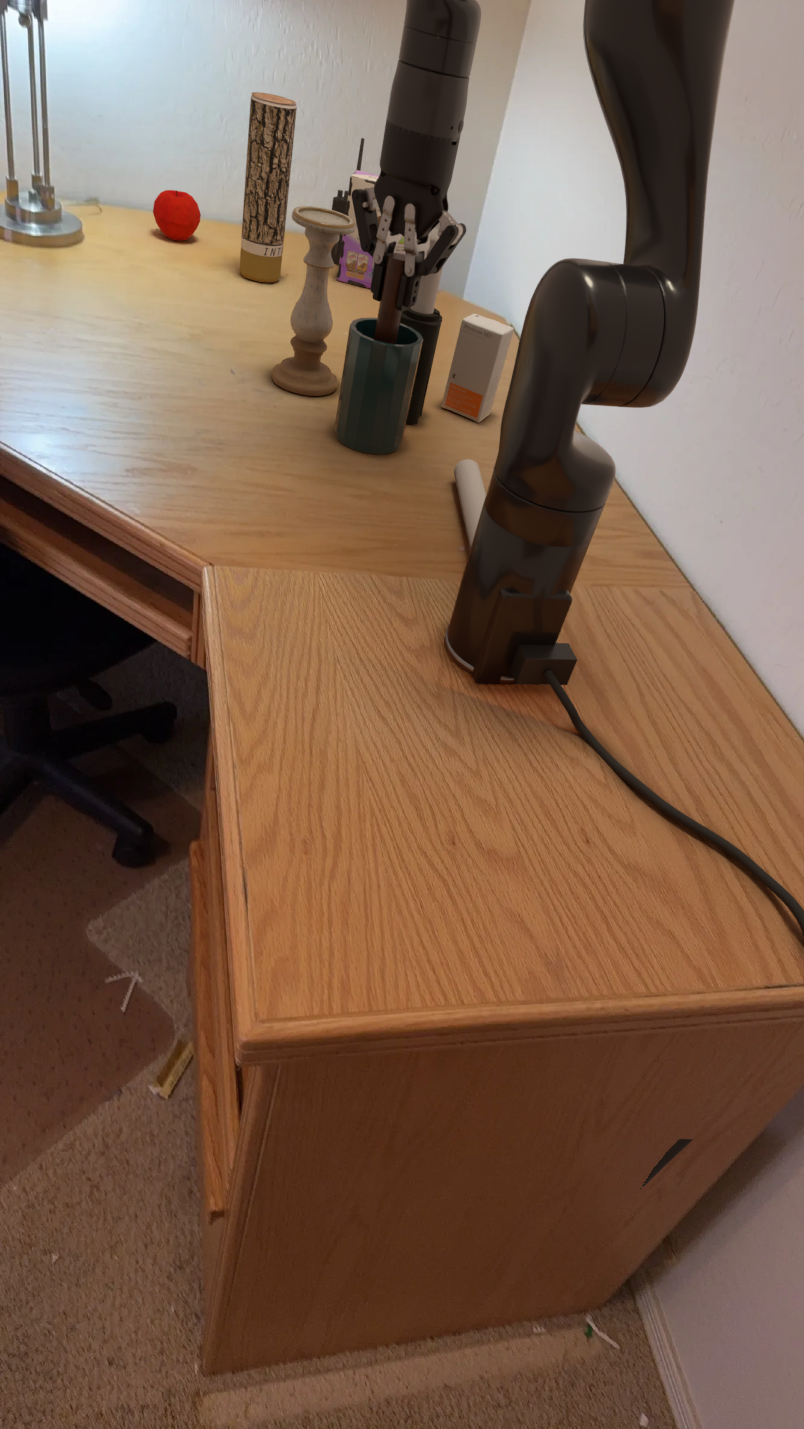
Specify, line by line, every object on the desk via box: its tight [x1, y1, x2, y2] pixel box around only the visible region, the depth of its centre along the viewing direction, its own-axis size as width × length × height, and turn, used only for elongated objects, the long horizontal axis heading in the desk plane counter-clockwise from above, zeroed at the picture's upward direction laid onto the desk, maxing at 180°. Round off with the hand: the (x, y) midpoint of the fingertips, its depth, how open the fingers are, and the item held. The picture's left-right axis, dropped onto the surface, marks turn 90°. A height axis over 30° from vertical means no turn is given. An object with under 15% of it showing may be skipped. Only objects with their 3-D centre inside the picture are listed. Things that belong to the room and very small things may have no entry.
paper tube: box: [238, 91, 298, 283], centre depth 138 cm, size 7×7×25 cm
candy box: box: [336, 170, 418, 290], centre depth 150 cm, size 14×6×16 cm, turn 82°
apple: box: [152, 189, 202, 242], centre depth 151 cm, size 8×8×7 cm
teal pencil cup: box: [333, 317, 423, 455], centre depth 104 cm, size 8×8×13 cm
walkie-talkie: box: [331, 137, 365, 266], centre depth 155 cm, size 5×3×20 cm
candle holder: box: [271, 205, 355, 397], centre depth 111 cm, size 9×9×20 cm
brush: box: [374, 253, 406, 344], centre depth 101 cm, size 5×5×19 cm
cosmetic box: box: [440, 312, 515, 423], centre depth 117 cm, size 6×4×12 cm
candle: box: [400, 222, 444, 426], centre depth 108 cm, size 5×5×25 cm
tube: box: [453, 458, 487, 550], centre depth 94 cm, size 3×3×25 cm
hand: (391, 303), depth 98 cm, fingers closed on brush, 2 cm apart
